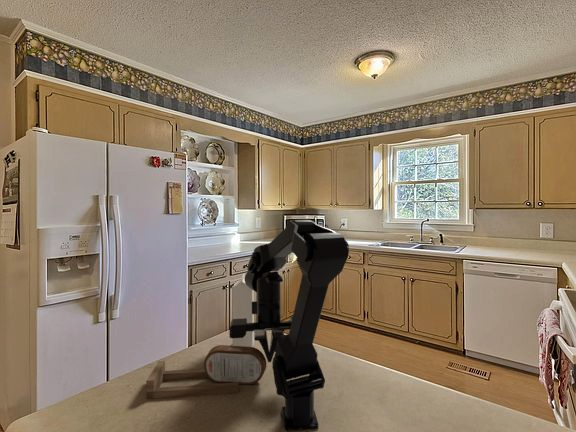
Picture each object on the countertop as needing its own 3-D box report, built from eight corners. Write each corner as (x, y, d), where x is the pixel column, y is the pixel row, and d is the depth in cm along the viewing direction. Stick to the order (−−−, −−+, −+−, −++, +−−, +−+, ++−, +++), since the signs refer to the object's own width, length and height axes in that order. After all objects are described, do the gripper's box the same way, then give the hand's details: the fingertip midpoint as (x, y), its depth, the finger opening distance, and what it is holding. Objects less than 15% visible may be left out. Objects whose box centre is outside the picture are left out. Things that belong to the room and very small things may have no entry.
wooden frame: (238, 392, 71) (238, 375, 71) (146, 398, 69) (146, 380, 69) (239, 372, 80) (239, 356, 80) (158, 377, 78) (158, 361, 78)
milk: (232, 351, 92) (231, 276, 92) (235, 342, 98) (234, 272, 98) (252, 350, 92) (252, 276, 92) (254, 342, 99) (253, 272, 98)
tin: (266, 380, 76) (266, 345, 76) (264, 387, 73) (264, 351, 73) (207, 376, 78) (207, 343, 78) (202, 383, 75) (202, 348, 75)
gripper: (302, 288, 85) (302, 345, 85) (232, 290, 83) (233, 348, 83) (308, 300, 74) (309, 365, 74) (228, 303, 72) (229, 370, 72)
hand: (269, 361), depth 76 cm, fingers closed
